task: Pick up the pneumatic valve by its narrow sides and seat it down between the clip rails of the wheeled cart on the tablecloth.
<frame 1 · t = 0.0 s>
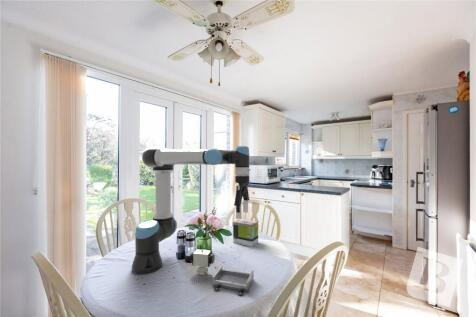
hand: (242, 215, 115), 28 cm above the table, fingers open, 13 cm apart
wheeled cart: (233, 283, 101), on the table
pneumatic valve: (202, 273, 110), on the table
tea box: (245, 242, 150), on the table
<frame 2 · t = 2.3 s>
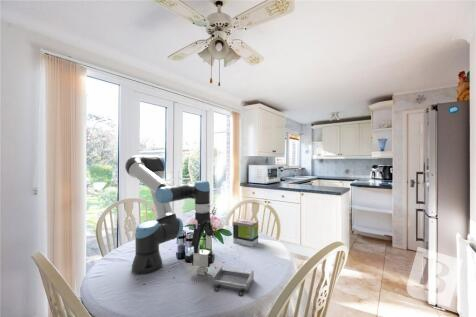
hand: (203, 253, 110), 10 cm above the table, fingers open, 13 cm apart
nothing on the table moved.
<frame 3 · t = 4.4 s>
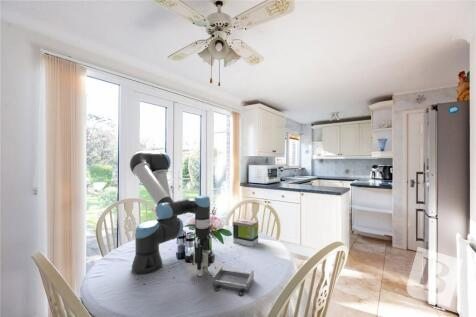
hand: (202, 272, 110), 0 cm above the table, fingers closed on pneumatic valve, 5 cm apart
pneumatic valve: (202, 273, 110), on the table, touching gripper
everything else where it was.
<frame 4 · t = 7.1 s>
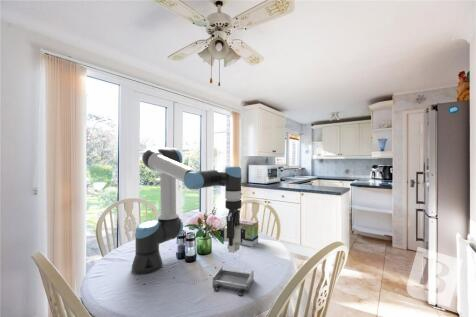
hand: (233, 249, 101), 16 cm above the table, fingers closed on pneumatic valve, 5 cm apart
pneumatic valve: (233, 250, 101), point 15 cm above the table, touching gripper
everything else where it was.
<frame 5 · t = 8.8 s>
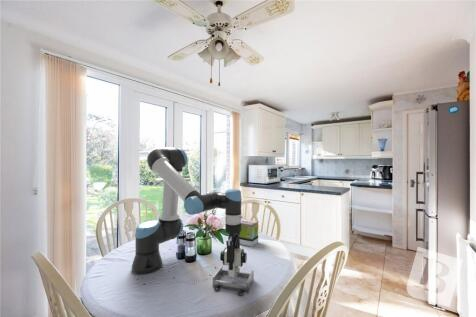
hand: (233, 272, 101), 5 cm above the table, fingers closed on pneumatic valve, 5 cm apart
pneumatic valve: (233, 273, 101), point 4 cm above the table, touching gripper
everything else where it was.
when the fingers open (4 cm above the table, at t = 9.8 s): pneumatic valve drops 2 cm, resting on wheeled cart.
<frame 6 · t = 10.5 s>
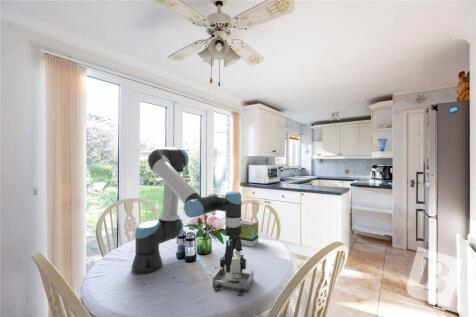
hand: (233, 271, 101), 6 cm above the table, fingers open, 13 cm apart
pneumatic valve: (233, 279, 101), point 1 cm above the table, touching wheeled cart
everything else where it was.
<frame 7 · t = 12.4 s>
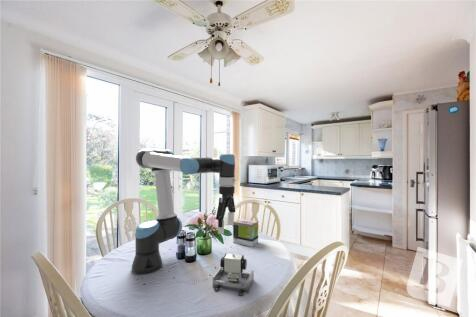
hand: (226, 229, 106), 24 cm above the table, fingers open, 13 cm apart
nothing on the table moved.
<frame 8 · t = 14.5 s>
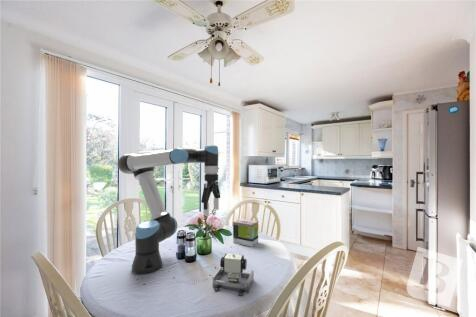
hand: (211, 212, 119), 29 cm above the table, fingers open, 13 cm apart
nothing on the table moved.
at the end: pneumatic valve 0.7 cm from the wheeled cart (horizontally); pneumatic valve tilted 0°; the gripper is holding nothing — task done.
